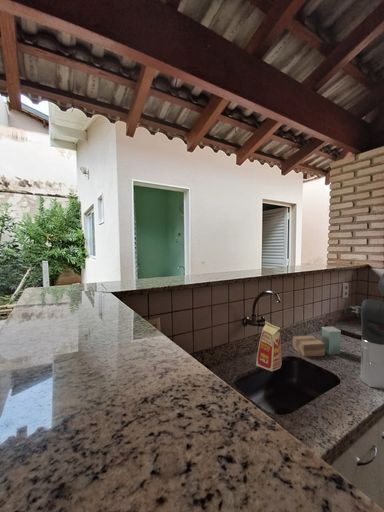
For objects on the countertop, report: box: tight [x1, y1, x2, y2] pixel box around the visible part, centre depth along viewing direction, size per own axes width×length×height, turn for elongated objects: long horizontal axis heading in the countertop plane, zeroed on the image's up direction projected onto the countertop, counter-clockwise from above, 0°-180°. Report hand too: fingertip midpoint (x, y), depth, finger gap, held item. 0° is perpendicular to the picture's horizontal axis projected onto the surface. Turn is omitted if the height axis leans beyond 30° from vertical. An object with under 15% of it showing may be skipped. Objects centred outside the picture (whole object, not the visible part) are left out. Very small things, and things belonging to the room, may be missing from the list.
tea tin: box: [321, 326, 342, 355], centre depth 123 cm, size 6×6×12 cm
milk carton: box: [255, 321, 283, 372], centre depth 109 cm, size 9×9×20 cm
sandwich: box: [292, 335, 326, 357], centre depth 123 cm, size 11×11×6 cm
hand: (351, 312), depth 123 cm, fingers open, 8 cm apart
